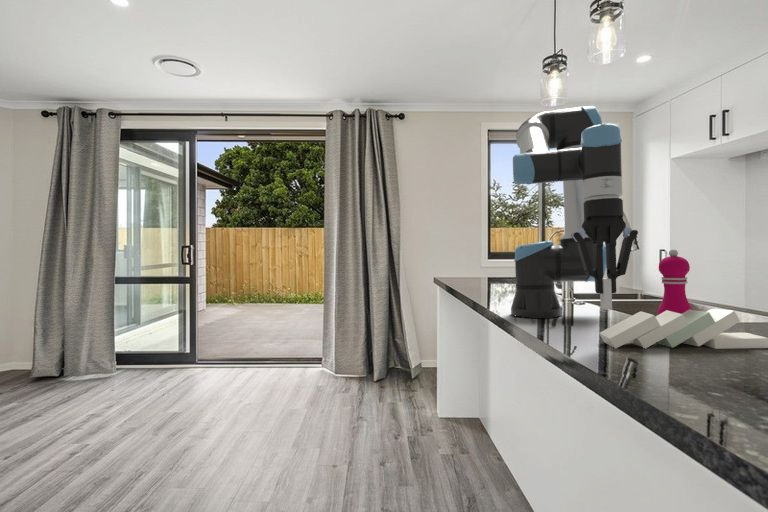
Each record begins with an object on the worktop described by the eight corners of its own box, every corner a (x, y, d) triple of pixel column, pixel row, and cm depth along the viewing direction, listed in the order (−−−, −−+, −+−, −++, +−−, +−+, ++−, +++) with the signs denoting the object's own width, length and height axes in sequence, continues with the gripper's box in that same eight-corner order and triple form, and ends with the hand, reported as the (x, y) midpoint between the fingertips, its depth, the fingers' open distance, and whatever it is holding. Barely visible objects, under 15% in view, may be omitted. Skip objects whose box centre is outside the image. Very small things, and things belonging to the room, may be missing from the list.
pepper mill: (701, 338, 95) (698, 248, 95) (665, 338, 97) (662, 250, 97) (685, 332, 102) (683, 248, 102) (652, 332, 104) (649, 249, 104)
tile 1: (598, 333, 95) (640, 311, 94) (604, 342, 95) (646, 320, 94) (609, 338, 89) (654, 315, 88) (615, 348, 89) (660, 325, 88)
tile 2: (625, 333, 94) (666, 310, 93) (630, 342, 94) (672, 319, 93) (638, 338, 88) (682, 314, 87) (644, 348, 88) (689, 324, 87)
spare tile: (649, 333, 93) (689, 309, 93) (655, 342, 93) (695, 318, 93) (666, 337, 87) (709, 312, 87) (672, 347, 87) (715, 322, 87)
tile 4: (672, 332, 93) (711, 308, 93) (678, 341, 93) (717, 318, 93) (692, 336, 87) (733, 310, 87) (699, 346, 87) (740, 321, 87)
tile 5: (696, 333, 92) (746, 332, 91) (696, 344, 92) (746, 343, 91) (714, 339, 86) (768, 338, 85) (715, 351, 86) (769, 350, 85)
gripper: (574, 198, 89) (578, 311, 90) (643, 195, 87) (646, 310, 87) (566, 202, 97) (569, 306, 97) (629, 199, 94) (632, 306, 95)
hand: (606, 308), depth 92 cm, fingers closed
